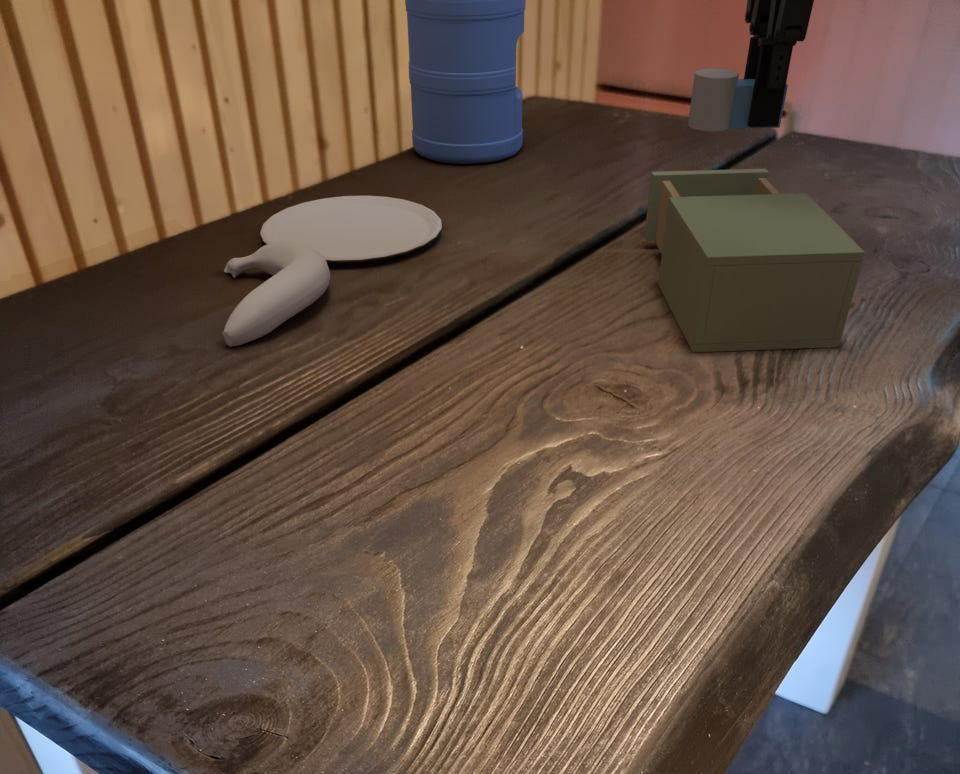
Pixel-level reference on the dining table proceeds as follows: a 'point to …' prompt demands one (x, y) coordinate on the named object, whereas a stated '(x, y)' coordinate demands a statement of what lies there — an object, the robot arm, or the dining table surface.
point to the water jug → (465, 79)
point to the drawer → (698, 191)
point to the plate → (355, 227)
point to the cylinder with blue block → (722, 100)
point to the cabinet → (757, 272)
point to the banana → (276, 289)
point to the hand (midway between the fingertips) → (757, 120)
